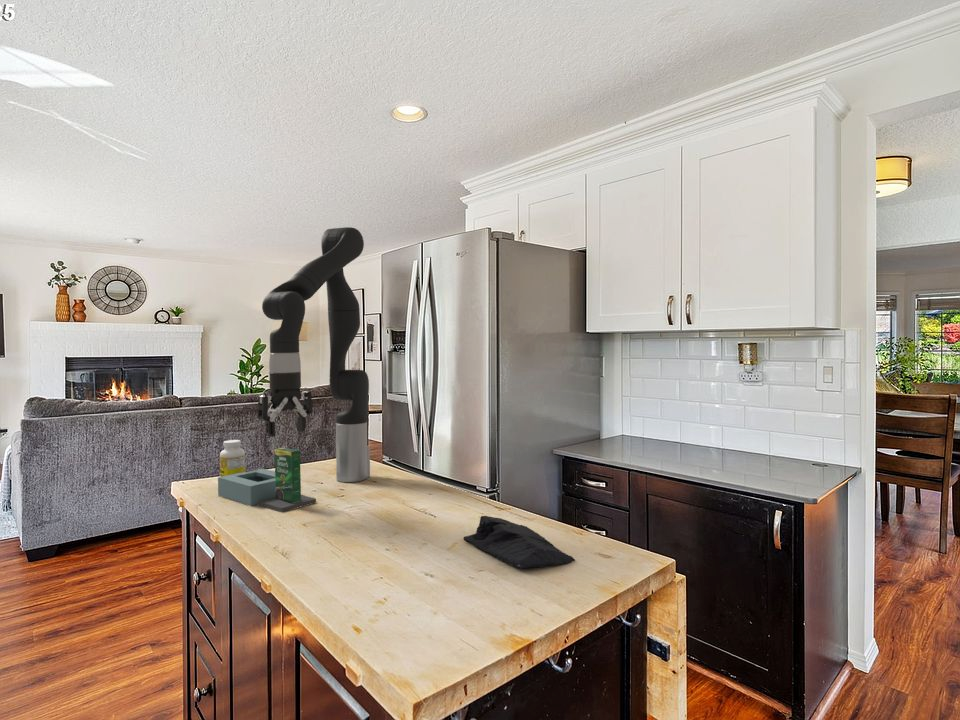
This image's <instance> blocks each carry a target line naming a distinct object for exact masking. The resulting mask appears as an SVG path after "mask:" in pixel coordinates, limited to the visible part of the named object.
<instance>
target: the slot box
mask: <svg viewBox="0 0 960 720" xmlns="http://www.w3.org/2000/svg"><path fill="white" fill-rule="evenodd" d="M217 490H218V491H217V496H218V497H221V498H224V499H228V500H230V501H232V502H236V503H239V504H240V503H241V504H244V505H246V504H247V506H249V505H250V507H252V506H256V505H259V504H258V501H262V500H266V499H269V498H273V497H276V483H275V470H271V469H266V468H258V469H254V470H249V471H245V472H242V473H237V474H232V475H227V476H222V477H220V476H218V477H217Z"/></svg>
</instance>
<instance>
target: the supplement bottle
mask: <svg viewBox="0 0 960 720" xmlns="http://www.w3.org/2000/svg"><path fill="white" fill-rule="evenodd" d="M222 445H223V450H221V452H220V453H219V477H222V476H227V475H232V474H237V473H242V472H246V465H245V464H246V463H245V462H246V460H245V459H246V453H245V450H244V449H243V448H241V445H242V440H240V439H230V440H224V441H223V444H222Z"/></svg>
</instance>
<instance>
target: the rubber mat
mask: <svg viewBox="0 0 960 720" xmlns="http://www.w3.org/2000/svg"><path fill="white" fill-rule="evenodd" d="M314 502H316V503H317V498H315V497H310V496H306V495H303V494H301V501H300V502H296V503H291V502H287V501H284V500H280V499H277V498H276V497H273V498H269V499H266V500H262V501H258V504H257V505H258V506H259V507H260V506H261V507H263V508H266V509H270V510H272V511H273V510H274V511H276V512H279V513H284V512H287V510H288V511H291V510H294V508H295V509H298V508H301V507H300V506H302V507H305V506H304V505H306V506H308V505H307V504H309V505H311V504H310V503H313V504H315V503H314ZM297 507H298V508H297ZM290 509H291V510H290Z"/></svg>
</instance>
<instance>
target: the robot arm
mask: <svg viewBox="0 0 960 720" xmlns="http://www.w3.org/2000/svg"><path fill="white" fill-rule="evenodd" d="M320 240H321V255H320V256H318V257H317V258H315V259H313V260H311V261H309V262H308V263H306V264H305V265H303V266H302V267H300V269H298V271H296V273H294V275H292V276H291V278H290V279H289V280H287V281H285V282H283V283H281V284H279V285H277V286H276V287H274V288H272V290H270V291H268V293H267V294H266V295H265V296H264V298H263V301H262V304H261V305H262V306H261V308H262V312H263V314H264V315H265V316H266V318H268V319H270V320H273V321H280V320H281V324H280V327H279V328H276V329H274V330H272V331H271V332H270V335H269V361H268V369H269V373H268V375H269V376H268V377H269V390H270V394H269V395H263V394H262V395H258V396H257V397H258V398H257V420H261V421H264V422H265V434H266V435H267V436H268V437H270V438H273V437H276V422H275V419H276V418H277V416H278V415H280V413H281V412H286V411H293V412H294V413H295V414H296V415H297V417H296V422H297V424H296V425H297V427H296V430H297V431H298V432H299V433H301V432H305V430H306V427H307V416H308V415H312V414H313V399H312V397H313V396H312V392H311V391H309V390H308V391H307V390H302V392H301V387H302V378H301V377H302V373H301V371H302V370H301V368H302V367H301V366H302V365H301V358H300V334H301V331H302V327H303V322H304V320H305V319H304V318H305V314H306V304H305V302H306V301H307V300H310V299H311V298H312V297H313V296H314V295H315V294H316V293H317V292H318V291H319V290H320V289H321V287H322V286H323V285H325V284H326V285H325V286H326V294H327V318H328V319H327V321H328V330H329V331H328V333H329V348H330V350H329V351H330V352H329V354H330V356H329V357H330V358H329V391H330V394H331V397H332V398H333V399H334V400H339V401H352V402H351V406H350V407H349V408H347V409H346V410H343V411H340V412H337V413H336V415H335V448H336V450H335V457H336V459H335V462H336V464H335V465H336V470H335V471H336V478H335V479H336V481H337V482H341V483H342V482H343V483H355V482H356V483H357V482H362V481H365V480H367V479H368V478H371V450H370V449H371V448H370V445H368V412H369V395H370V394H369V392H370V391H369V390H370V380H369V376H368V373H367V371H366V370H362V369H346V359H347V353H348V351H349V348H350V347H351V345H352V343H353V341H354V340H355V338H356V337H357V335H358V332H359V330H360V327H361V315H360V314H361V313H360V312H361V311H360V304H359V300H358V299H357V297H356V295H355V293H354V292H353V290H352V289H351V287H350V285H349V283H348V280H347V279H346V276H345V273H344V267H346V266H347V265H349V264H350V263H352V262H353V261H355V259H357V258H359V257H360V256H361V254H362V252H363V250H364V247H365V243H364V237H363V235H362V233H361V231H359V229H357V228H355V227H347V226H346V227H345V226H344V227H333V228H327V229H326V230H325V231H324V232H323V234H322V235H321V239H320ZM300 400H301V401H302V404H301V402H300ZM270 403H271V405H270V407H269V404H270Z"/></svg>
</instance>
